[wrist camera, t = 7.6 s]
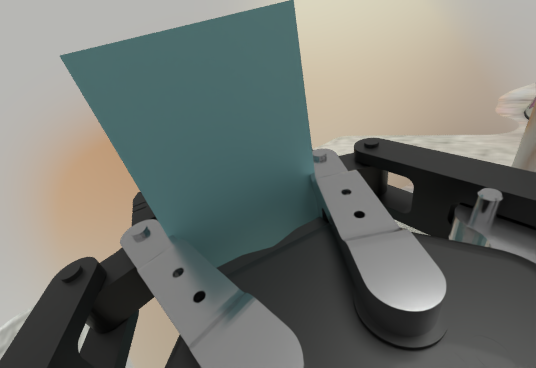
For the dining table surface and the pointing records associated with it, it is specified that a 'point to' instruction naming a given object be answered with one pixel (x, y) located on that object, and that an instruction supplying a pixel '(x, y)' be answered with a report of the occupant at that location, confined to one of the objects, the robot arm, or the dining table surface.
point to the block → (210, 126)
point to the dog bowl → (529, 109)
